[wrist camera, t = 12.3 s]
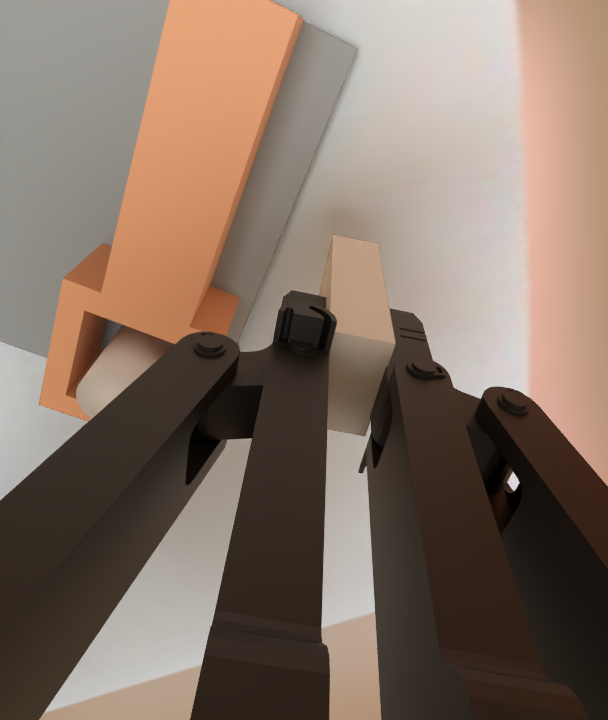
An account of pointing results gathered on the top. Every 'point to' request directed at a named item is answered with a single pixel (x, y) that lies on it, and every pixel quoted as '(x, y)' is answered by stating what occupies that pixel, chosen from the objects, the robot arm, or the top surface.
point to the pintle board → (123, 164)
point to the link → (177, 187)
